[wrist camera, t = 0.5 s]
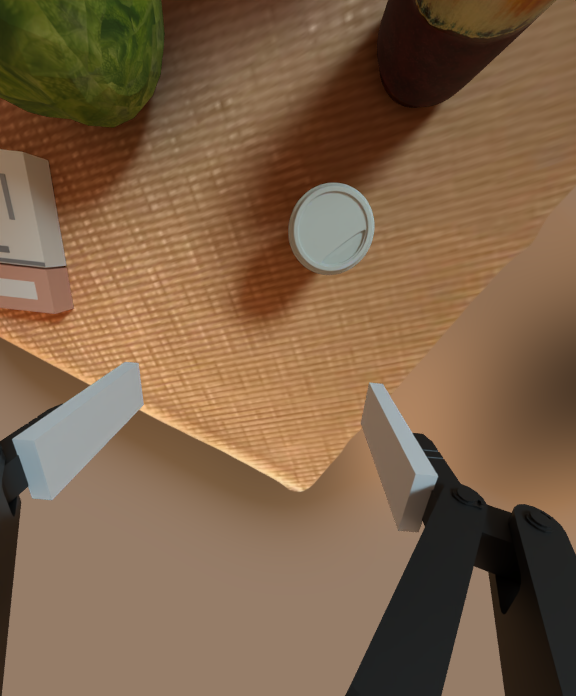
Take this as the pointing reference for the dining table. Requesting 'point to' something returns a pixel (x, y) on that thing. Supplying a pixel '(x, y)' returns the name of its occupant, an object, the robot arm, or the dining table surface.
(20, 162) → the two-slot toaster
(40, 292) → the stub
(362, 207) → the coffee cup
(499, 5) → the vase
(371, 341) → the dining table surface
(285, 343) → the dining table surface
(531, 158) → the dining table surface
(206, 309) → the dining table surface
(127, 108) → the lettuce
